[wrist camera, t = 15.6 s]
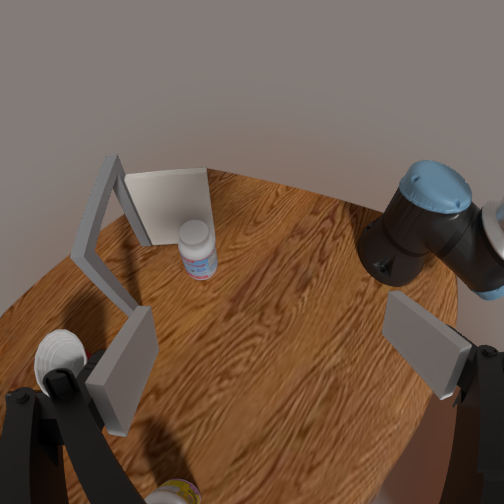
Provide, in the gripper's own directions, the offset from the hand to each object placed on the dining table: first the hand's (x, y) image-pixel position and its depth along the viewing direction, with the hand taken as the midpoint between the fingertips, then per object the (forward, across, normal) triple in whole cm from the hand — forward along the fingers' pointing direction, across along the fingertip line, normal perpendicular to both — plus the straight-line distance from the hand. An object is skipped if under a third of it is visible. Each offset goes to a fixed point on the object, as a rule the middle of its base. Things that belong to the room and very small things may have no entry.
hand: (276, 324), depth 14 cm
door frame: (+36, -20, -9) cm, 42 cm away
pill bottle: (+37, -8, -8) cm, 39 cm away
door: (+41, -12, -3) cm, 43 cm away
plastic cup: (+22, -28, -23) cm, 42 cm away
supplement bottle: (+8, -13, -37) cm, 40 cm away
